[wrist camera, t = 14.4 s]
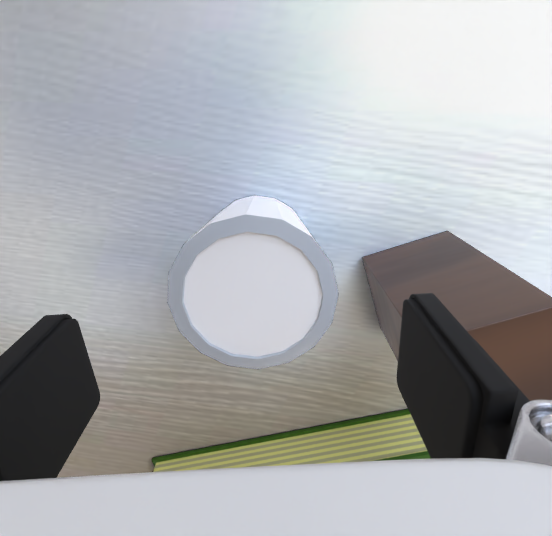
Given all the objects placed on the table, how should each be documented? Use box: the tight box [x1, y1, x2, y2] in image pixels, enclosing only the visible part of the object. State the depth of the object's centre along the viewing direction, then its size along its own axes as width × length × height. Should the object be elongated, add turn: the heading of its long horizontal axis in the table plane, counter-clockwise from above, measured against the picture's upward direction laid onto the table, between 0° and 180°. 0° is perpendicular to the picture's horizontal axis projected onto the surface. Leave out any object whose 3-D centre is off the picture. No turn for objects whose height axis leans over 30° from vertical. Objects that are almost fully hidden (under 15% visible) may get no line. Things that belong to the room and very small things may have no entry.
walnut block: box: [362, 231, 552, 401], centre depth 18 cm, size 5×5×9 cm
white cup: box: [167, 195, 339, 369], centre depth 18 cm, size 7×7×7 cm
